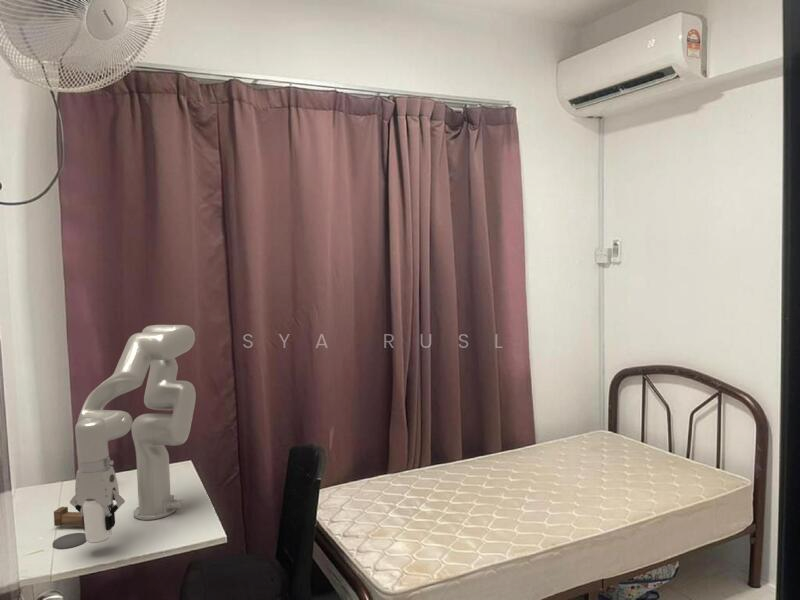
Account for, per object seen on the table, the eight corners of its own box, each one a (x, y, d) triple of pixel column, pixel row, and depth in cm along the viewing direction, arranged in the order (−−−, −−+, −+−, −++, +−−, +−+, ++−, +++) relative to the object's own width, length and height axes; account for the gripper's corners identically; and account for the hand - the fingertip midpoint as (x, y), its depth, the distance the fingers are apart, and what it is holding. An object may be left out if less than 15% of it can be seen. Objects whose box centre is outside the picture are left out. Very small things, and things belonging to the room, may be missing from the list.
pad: (94, 534, 178) (94, 533, 178) (75, 549, 169) (75, 547, 169) (65, 534, 179) (65, 532, 179) (45, 548, 170) (45, 546, 170)
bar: (88, 527, 181) (88, 512, 180) (54, 525, 182) (53, 511, 182) (96, 521, 184) (95, 507, 184) (62, 520, 186) (61, 506, 185)
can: (82, 538, 167) (78, 496, 166) (107, 529, 171) (103, 488, 170) (90, 546, 162) (86, 503, 161) (115, 537, 167) (111, 495, 165)
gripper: (131, 459, 167) (136, 521, 169) (72, 458, 169) (78, 520, 171) (116, 470, 160) (122, 535, 162) (55, 469, 161) (61, 534, 163)
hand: (99, 527), depth 166 cm, fingers closed on can, 5 cm apart
